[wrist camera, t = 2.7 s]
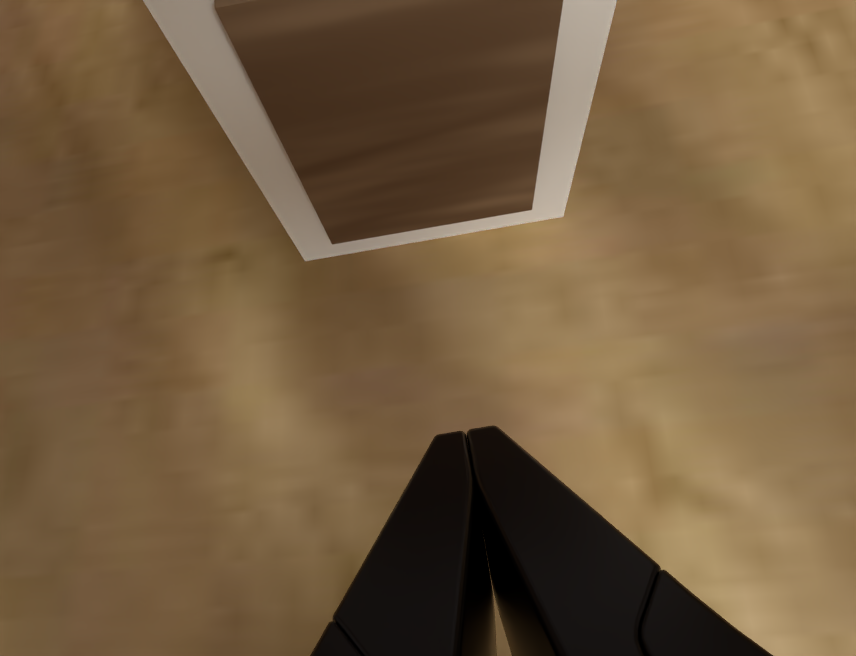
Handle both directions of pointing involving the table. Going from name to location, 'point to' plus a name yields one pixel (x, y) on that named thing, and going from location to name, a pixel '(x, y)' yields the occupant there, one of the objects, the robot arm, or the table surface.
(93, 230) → the table surface
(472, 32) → the picture frame
